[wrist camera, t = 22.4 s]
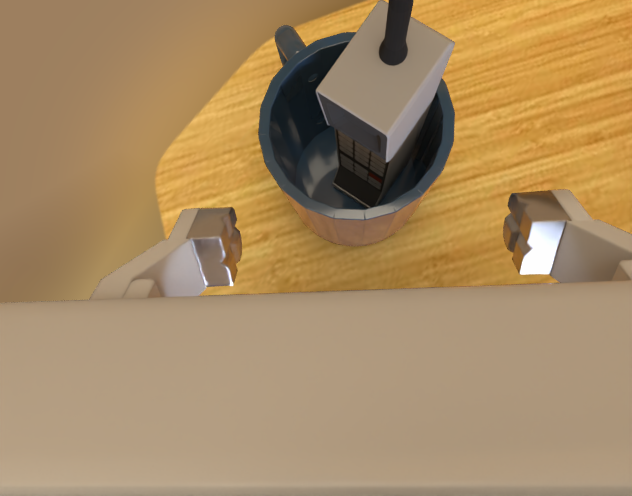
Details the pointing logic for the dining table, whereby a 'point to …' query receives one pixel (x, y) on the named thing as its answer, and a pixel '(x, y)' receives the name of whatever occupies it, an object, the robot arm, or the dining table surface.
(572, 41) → the dining table surface
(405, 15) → the vintage mobile phone
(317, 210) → the dark grey mug
